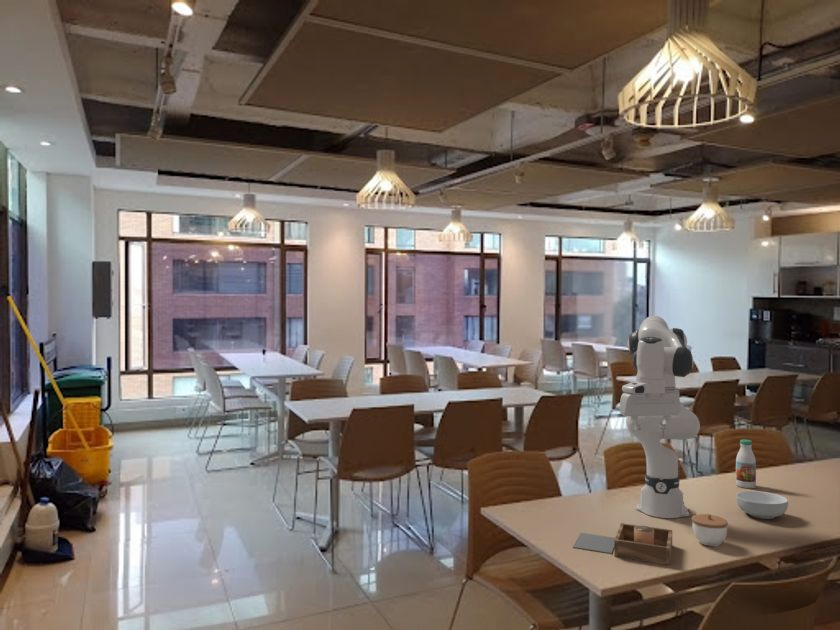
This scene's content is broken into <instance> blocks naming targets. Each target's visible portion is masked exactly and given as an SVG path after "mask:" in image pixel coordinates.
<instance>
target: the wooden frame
mask: <svg viewBox="0 0 840 630" xmlns="http://www.w3.org/2000/svg"><path fill="white" fill-rule="evenodd" d="M635 526H640V525H637V524H631V523H630V524H629V523H623V522H620V525H619V527H618V530H617V533H616V535H615V537H614V538H615V540H614V549H613V551H614V552H613V554H614V555H613V556H614V557H618V558H623V559H630V560H638V561H643V562H649V563H655V564H660V565H661V564H662V565H668V566H670V564H671V559H672V558H671V557H672V550H673V529H667V528H659V527H651V526H650V527H651V528H653V529H654V545H652V544H645V543H638V542H634V527H635Z"/></svg>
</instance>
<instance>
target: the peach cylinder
mask: <svg viewBox="0 0 840 630" xmlns="http://www.w3.org/2000/svg"><path fill="white" fill-rule="evenodd" d="M633 542H638V543H645V544H652V545H655V544H654V529H653V528H651V526H647V525H639V526H635V527H634V541H633Z"/></svg>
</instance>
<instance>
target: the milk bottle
mask: <svg viewBox="0 0 840 630" xmlns="http://www.w3.org/2000/svg"><path fill="white" fill-rule="evenodd" d="M739 444H740V448H739V450H738V452H737V455H736V458H735V485H736V486H737V487H739V488H744V489H754V488H756V487H757V486H756V485H757V463H756V461H757V460H756V457H755V453H754V452H753V449H752V446H753V441H752V440H751V439H750V440H749V439H740V441H739Z"/></svg>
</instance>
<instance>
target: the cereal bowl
mask: <svg viewBox="0 0 840 630" xmlns="http://www.w3.org/2000/svg"><path fill="white" fill-rule="evenodd" d="M735 496H736V503H737V505H738V507H739V508H740V510H741V511H742V512H744V513H747V514H749V515H750V516H751V517H753V518H757V519H761V520H772V519H775V517H777V518H778V517H781V516H782V515H784V514H786V513H787V510H788V508H789V499H787V498H786V497H784V496H783V495H780V494H776V493H772V492H766V491H758V490H757V491H756V490H746V491H740V492H737V493H736V495H735Z"/></svg>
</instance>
